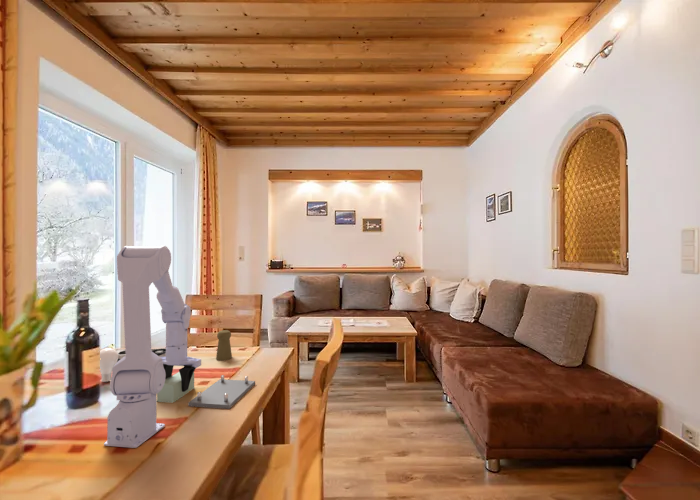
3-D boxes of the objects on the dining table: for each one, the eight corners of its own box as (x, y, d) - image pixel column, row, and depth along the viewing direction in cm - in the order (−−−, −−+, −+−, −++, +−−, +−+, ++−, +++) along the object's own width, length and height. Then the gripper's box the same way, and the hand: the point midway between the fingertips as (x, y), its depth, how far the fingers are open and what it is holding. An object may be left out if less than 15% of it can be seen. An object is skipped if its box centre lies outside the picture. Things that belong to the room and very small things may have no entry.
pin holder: (229, 408, 90) (229, 397, 90) (188, 406, 91) (188, 395, 91) (255, 384, 107) (255, 374, 107) (219, 382, 108) (219, 373, 108)
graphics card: (115, 348, 136) (180, 346, 140) (115, 357, 136) (180, 354, 140) (101, 356, 126) (172, 353, 130) (101, 365, 126) (172, 362, 130)
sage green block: (173, 402, 94) (173, 385, 94) (157, 401, 94) (157, 384, 94) (194, 388, 104) (194, 372, 104) (179, 387, 104) (179, 371, 104)
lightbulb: (103, 387, 104) (103, 351, 104) (89, 384, 106) (89, 350, 106) (122, 379, 110) (123, 346, 110) (109, 377, 112) (109, 344, 112)
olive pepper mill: (215, 357, 134) (215, 329, 134) (231, 355, 137) (231, 328, 137) (216, 361, 129) (216, 333, 129) (232, 359, 131) (232, 331, 132)
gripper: (206, 341, 102) (206, 385, 102) (163, 339, 104) (163, 383, 104) (193, 347, 95) (193, 395, 95) (147, 346, 97) (146, 392, 97)
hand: (176, 389), depth 99 cm, fingers closed on sage green block, 5 cm apart
